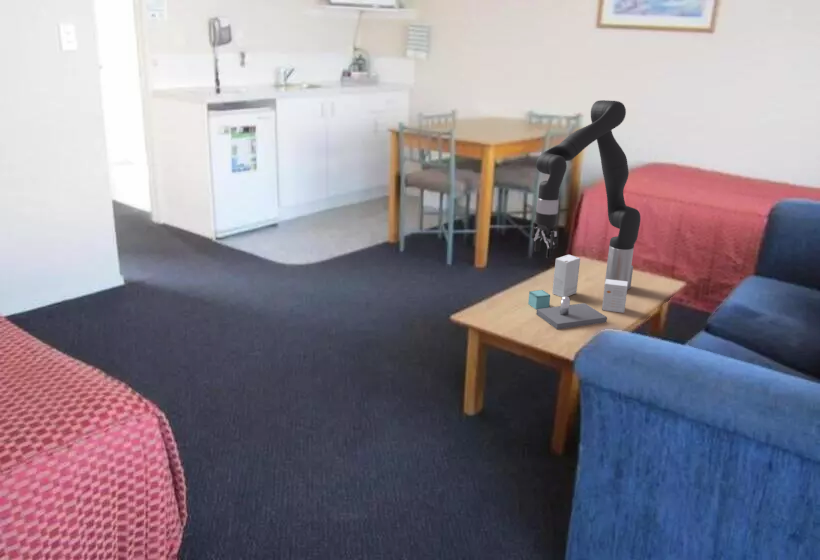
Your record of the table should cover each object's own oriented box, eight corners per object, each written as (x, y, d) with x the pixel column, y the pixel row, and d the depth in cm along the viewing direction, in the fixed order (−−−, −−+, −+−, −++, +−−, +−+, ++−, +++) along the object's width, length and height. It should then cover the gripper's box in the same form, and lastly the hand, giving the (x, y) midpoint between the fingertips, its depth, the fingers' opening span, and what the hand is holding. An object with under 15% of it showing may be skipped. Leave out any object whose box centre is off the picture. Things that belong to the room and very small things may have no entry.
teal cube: (541, 302, 257) (542, 289, 255) (549, 307, 252) (550, 295, 250) (528, 303, 255) (529, 291, 253) (535, 309, 250) (536, 296, 248)
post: (565, 311, 243) (567, 294, 241) (570, 314, 240) (572, 297, 238) (558, 312, 242) (560, 295, 240) (562, 315, 239) (564, 298, 237)
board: (583, 308, 252) (584, 303, 252) (606, 322, 240) (607, 317, 239) (536, 314, 246) (536, 309, 245) (556, 329, 233) (557, 323, 233)
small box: (624, 307, 253) (628, 281, 250) (624, 313, 248) (627, 286, 245) (602, 304, 256) (605, 278, 252) (601, 310, 251) (604, 283, 247)
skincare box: (565, 289, 271) (568, 253, 266) (577, 293, 266) (581, 257, 261) (551, 294, 266) (554, 257, 260) (563, 298, 261) (567, 261, 256)
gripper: (567, 215, 236) (562, 259, 242) (546, 205, 249) (542, 248, 254) (548, 216, 234) (544, 261, 239) (527, 206, 247) (524, 249, 252)
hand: (543, 254), depth 247 cm, fingers open, 8 cm apart
